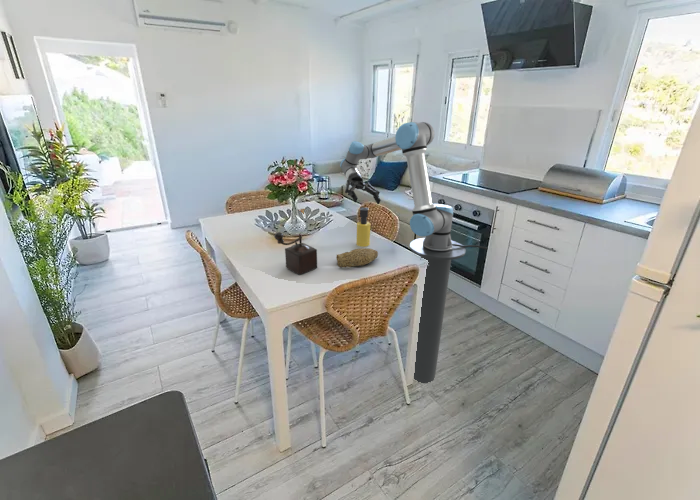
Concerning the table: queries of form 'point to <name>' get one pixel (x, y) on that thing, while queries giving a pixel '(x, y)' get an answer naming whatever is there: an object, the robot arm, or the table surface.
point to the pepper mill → (298, 255)
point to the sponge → (356, 257)
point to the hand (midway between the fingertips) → (367, 201)
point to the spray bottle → (363, 229)
